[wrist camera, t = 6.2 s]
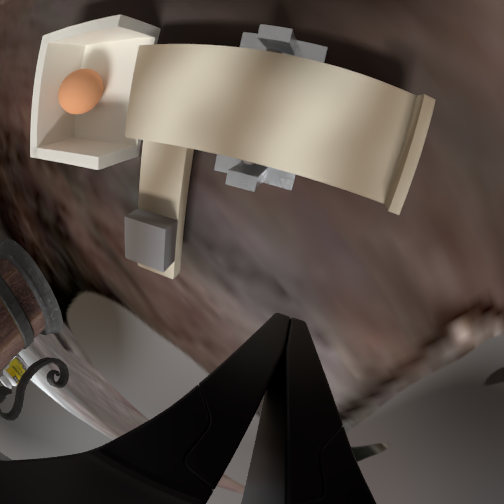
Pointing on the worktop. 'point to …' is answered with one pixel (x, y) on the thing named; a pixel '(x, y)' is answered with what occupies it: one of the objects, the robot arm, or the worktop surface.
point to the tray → (110, 105)
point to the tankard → (25, 318)
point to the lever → (261, 131)
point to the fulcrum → (258, 174)
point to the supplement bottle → (13, 372)
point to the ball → (80, 91)
